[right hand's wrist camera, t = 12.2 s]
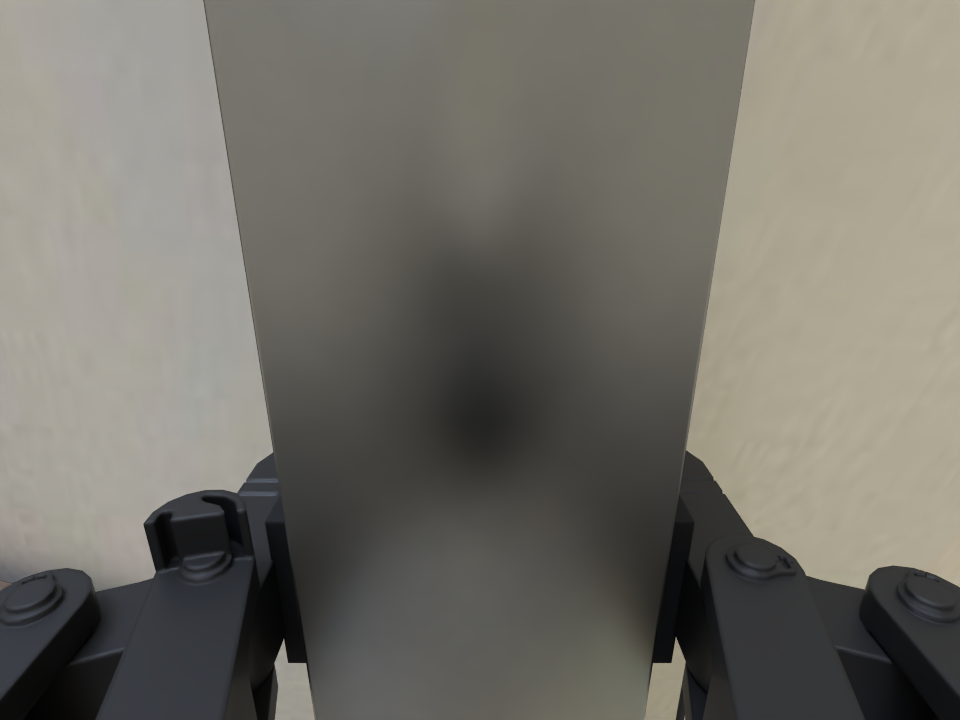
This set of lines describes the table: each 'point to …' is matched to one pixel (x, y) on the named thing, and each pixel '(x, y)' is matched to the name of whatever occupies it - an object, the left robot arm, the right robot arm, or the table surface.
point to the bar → (479, 329)
